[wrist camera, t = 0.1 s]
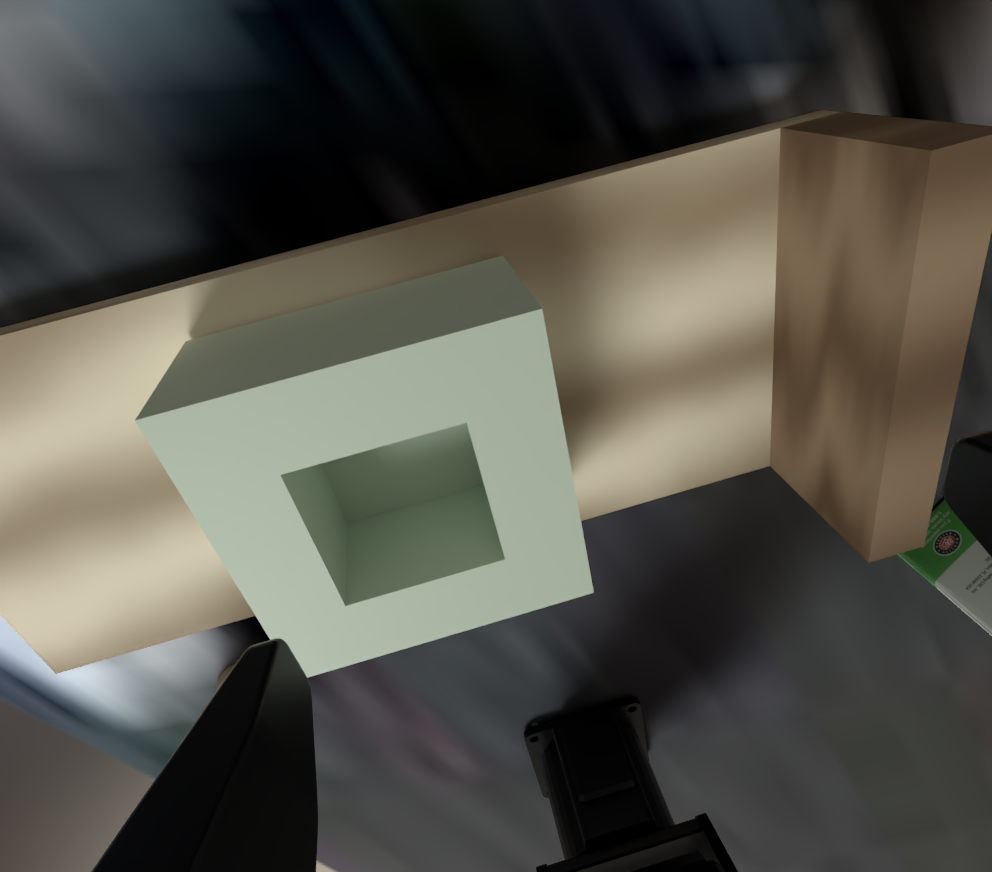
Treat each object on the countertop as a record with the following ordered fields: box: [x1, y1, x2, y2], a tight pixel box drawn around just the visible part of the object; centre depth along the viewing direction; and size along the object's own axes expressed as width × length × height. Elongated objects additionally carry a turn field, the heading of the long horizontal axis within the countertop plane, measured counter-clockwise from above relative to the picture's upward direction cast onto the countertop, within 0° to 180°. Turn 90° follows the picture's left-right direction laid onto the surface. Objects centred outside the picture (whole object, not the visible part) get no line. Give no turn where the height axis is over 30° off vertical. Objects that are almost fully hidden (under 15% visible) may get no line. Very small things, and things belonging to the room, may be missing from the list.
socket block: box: [135, 256, 594, 678], centre depth 20 cm, size 10×10×5 cm
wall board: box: [0, 110, 992, 674], centre depth 20 cm, size 13×32×7 cm, turn 103°
